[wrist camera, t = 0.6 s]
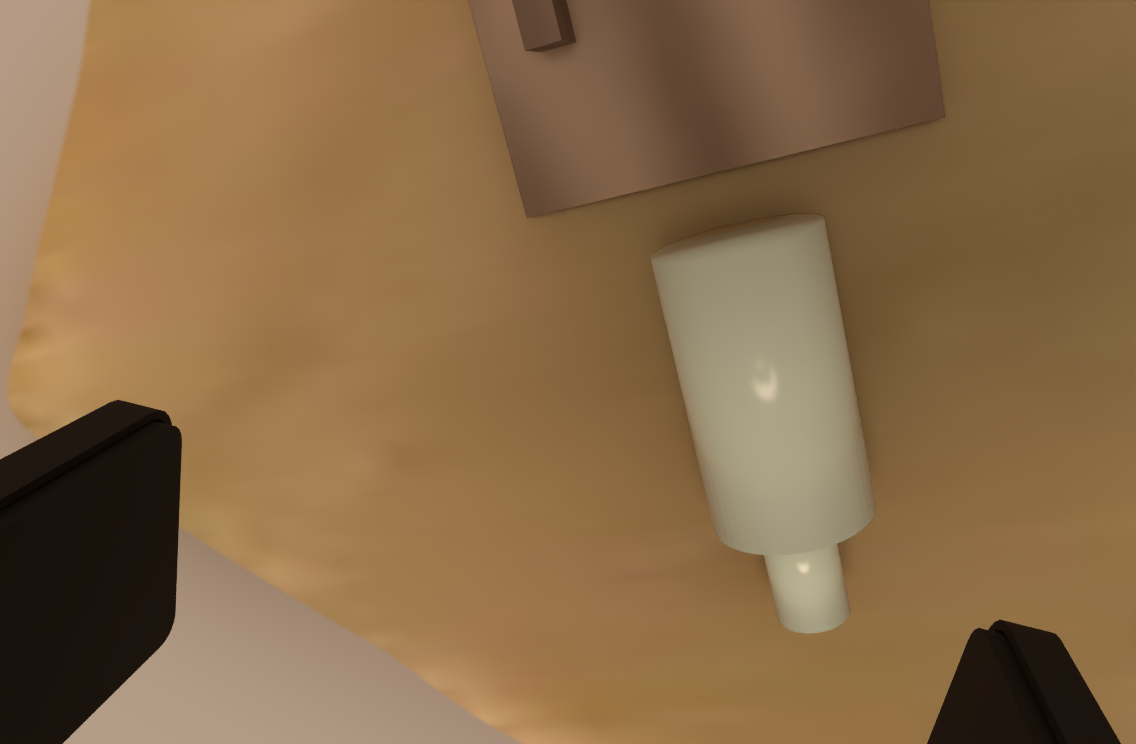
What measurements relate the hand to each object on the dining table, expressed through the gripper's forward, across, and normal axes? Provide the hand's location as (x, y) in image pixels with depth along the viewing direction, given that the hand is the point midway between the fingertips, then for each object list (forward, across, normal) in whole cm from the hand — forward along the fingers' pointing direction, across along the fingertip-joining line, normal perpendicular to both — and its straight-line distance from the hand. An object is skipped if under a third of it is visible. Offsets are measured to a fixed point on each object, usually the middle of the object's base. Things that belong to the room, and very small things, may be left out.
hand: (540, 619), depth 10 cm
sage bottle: (+24, -5, +4) cm, 24 cm away
